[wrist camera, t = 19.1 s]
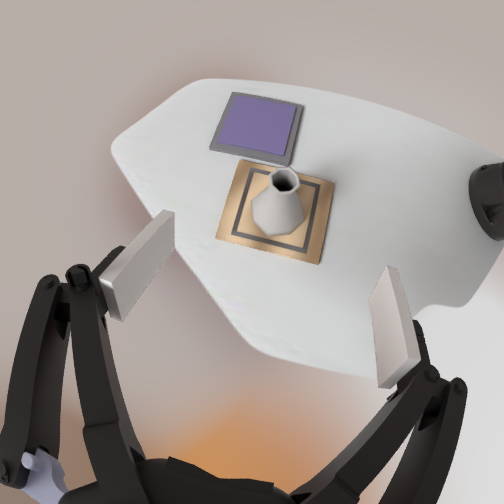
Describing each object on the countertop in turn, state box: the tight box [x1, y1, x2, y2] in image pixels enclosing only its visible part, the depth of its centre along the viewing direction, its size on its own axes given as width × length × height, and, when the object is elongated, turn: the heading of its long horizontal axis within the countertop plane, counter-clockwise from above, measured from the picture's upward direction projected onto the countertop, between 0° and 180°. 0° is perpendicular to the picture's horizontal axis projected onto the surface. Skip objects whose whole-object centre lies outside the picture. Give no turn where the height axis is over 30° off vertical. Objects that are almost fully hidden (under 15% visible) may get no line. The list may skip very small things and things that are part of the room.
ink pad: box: [209, 92, 303, 166], centre depth 39 cm, size 12×12×1 cm
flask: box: [251, 167, 304, 237], centre depth 32 cm, size 7×7×10 cm
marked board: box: [215, 160, 334, 265], centre depth 37 cm, size 14×12×1 cm
